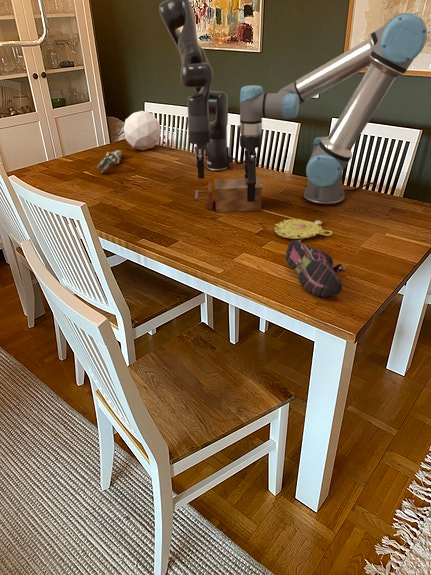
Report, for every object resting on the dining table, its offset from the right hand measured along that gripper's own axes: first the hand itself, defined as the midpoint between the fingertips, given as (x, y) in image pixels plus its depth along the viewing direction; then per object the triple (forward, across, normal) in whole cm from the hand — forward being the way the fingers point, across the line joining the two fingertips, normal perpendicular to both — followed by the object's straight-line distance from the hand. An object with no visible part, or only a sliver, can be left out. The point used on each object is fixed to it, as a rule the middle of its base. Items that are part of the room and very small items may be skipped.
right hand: (249, 195), depth 165 cm
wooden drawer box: (+4, 0, -4) cm, 6 cm away
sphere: (+4, -84, -49) cm, 98 cm away
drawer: (+3, 0, -10) cm, 11 cm away
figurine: (+4, -57, -62) cm, 84 cm away
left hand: (-8, 0, -18) cm, 19 cm away
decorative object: (+4, +25, +15) cm, 30 cm away
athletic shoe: (+4, +55, +14) cm, 57 cm away
